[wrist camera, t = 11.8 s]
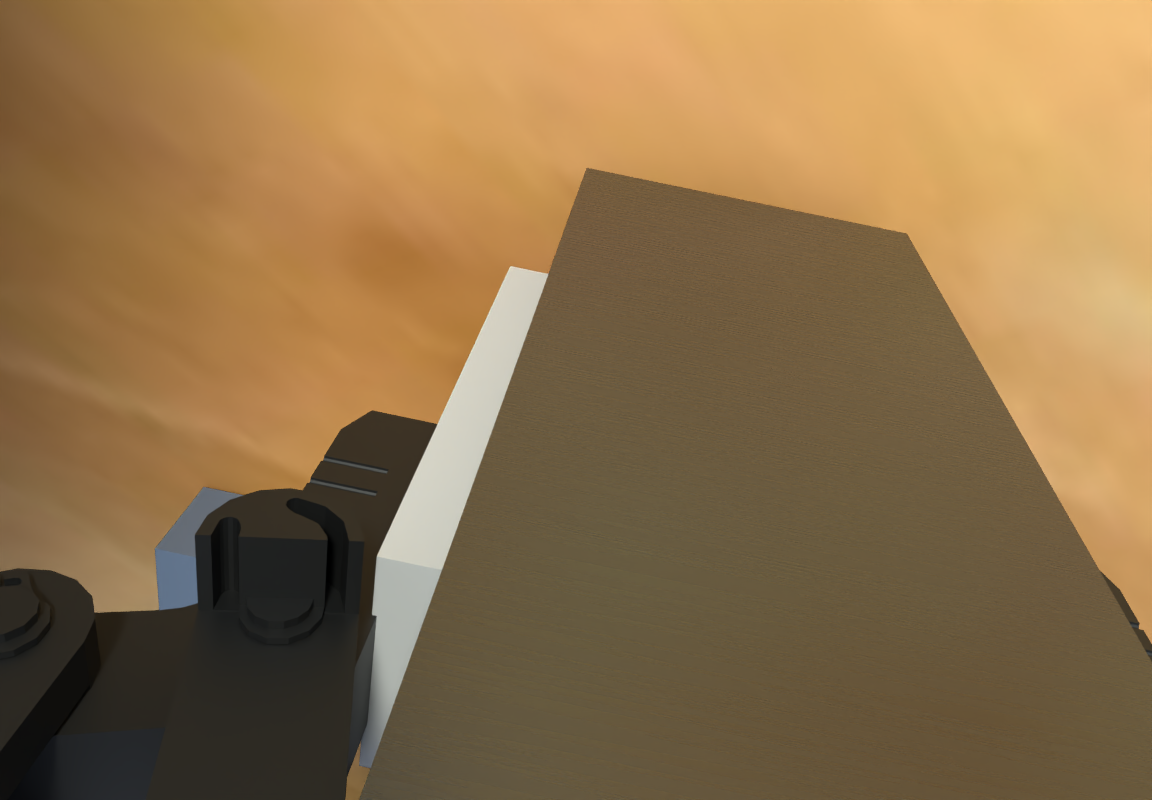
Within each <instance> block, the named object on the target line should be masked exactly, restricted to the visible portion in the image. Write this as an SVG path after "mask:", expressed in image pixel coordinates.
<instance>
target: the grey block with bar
mask: <svg viewBox="0 0 1152 800" xmlns="http://www.w3.org/2000/svg"><path fill="white" fill-rule="evenodd" d="M359 800H1152V661H1151V660H1150V658H1149V656H1148V654H1147V653H1146V651H1145V649H1144V648H1143V646H1142V644H1141V642H1140V641H1139V639H1138V637H1137V635H1136V634H1135V632H1134V630H1133V628H1132V627H1131V625H1130V623H1129V621H1128V620H1127V618H1126V616H1125V614H1124V613H1123V611H1122V609H1121V607H1120V606H1119V604H1118V602H1117V600H1116V599H1115V597H1114V595H1113V593H1112V592H1111V590H1110V588H1109V586H1108V585H1107V583H1106V581H1105V579H1104V578H1103V576H1102V574H1101V572H1100V571H1099V569H1098V567H1097V565H1096V564H1095V562H1094V560H1093V558H1092V557H1091V555H1090V553H1089V551H1088V550H1087V548H1086V546H1085V544H1084V543H1083V541H1082V539H1081V537H1080V536H1079V534H1078V532H1077V530H1076V529H1075V527H1074V525H1073V523H1072V522H1071V520H1070V518H1069V516H1068V515H1067V513H1066V511H1065V509H1064V508H1063V506H1062V504H1061V502H1060V501H1059V499H1058V497H1057V495H1056V494H1055V492H1054V490H1053V488H1052V487H1051V485H1050V483H1049V481H1048V480H1047V478H1046V476H1045V474H1044V473H1043V471H1042V469H1041V467H1040V466H1039V464H1038V462H1037V460H1036V459H1035V457H1034V455H1033V453H1032V452H1031V450H1030V448H1029V446H1028V445H1027V443H1026V441H1025V439H1024V438H1023V436H1022V434H1021V432H1020V431H1019V429H1018V427H1017V425H1016V424H1015V422H1014V420H1013V419H1012V417H1011V415H1010V413H1009V412H1008V410H1007V408H1006V406H1005V405H1004V403H1003V401H1002V399H1001V398H1000V396H999V394H998V392H997V391H996V389H995V387H994V385H993V384H992V382H991V380H990V378H989V377H988V375H987V373H986V371H985V370H984V368H983V366H982V364H981V363H980V361H979V359H978V357H977V356H976V354H975V352H974V350H973V349H972V347H971V345H970V343H969V342H968V340H967V338H966V336H965V335H964V333H963V331H962V329H961V328H960V326H959V324H958V322H957V321H956V319H955V317H954V315H953V314H952V312H951V310H950V308H949V307H948V305H947V303H946V301H945V300H944V298H943V296H942V294H941V293H940V291H939V289H938V287H937V286H936V284H935V282H934V280H933V279H932V277H931V275H930V273H929V272H928V270H927V268H926V266H925V265H924V263H923V261H922V259H921V258H920V256H919V254H918V252H917V251H916V249H915V247H914V245H913V244H912V242H911V240H910V238H909V237H908V235H907V234H906V233H901V232H896V231H891V230H886V229H881V228H877V227H872V226H867V225H862V224H857V223H852V222H847V221H842V220H838V219H833V218H828V217H823V216H818V215H813V214H808V213H804V212H799V211H794V210H789V209H784V208H779V207H774V206H770V205H765V204H760V203H755V202H750V201H745V200H740V199H735V198H731V197H726V196H721V195H716V194H711V193H706V192H701V191H697V190H692V189H687V188H682V187H677V186H672V185H667V184H662V183H658V182H653V181H648V180H643V179H638V178H633V177H628V176H624V175H619V174H614V173H609V172H604V171H599V170H594V169H589V168H587V169H586V171H585V174H584V177H583V180H582V182H581V185H580V188H579V191H578V194H577V196H576V199H575V202H574V205H573V207H572V210H571V213H570V216H569V219H568V221H567V224H566V227H565V230H564V232H563V235H562V238H561V241H560V244H559V246H558V249H557V252H556V255H555V257H554V260H553V263H552V266H551V269H550V271H549V274H548V277H547V280H546V282H545V285H544V288H543V291H542V293H541V296H540V299H539V302H538V305H537V307H536V310H535V313H534V316H533V318H532V321H531V324H530V327H529V330H528V332H527V335H526V338H525V341H524V343H523V346H522V349H521V352H520V355H519V357H518V360H517V363H516V366H515V368H514V371H513V374H512V377H511V380H510V382H509V385H508V388H507V391H506V393H505V396H504V399H503V402H502V405H501V407H500V410H499V413H498V416H497V418H496V421H495V424H494V427H493V430H492V432H491V435H490V438H489V441H488V443H487V446H486V449H485V452H484V455H483V457H482V460H481V463H480V466H479V468H478V471H477V474H476V477H475V480H474V482H473V485H472V488H471V491H470V493H469V496H468V499H467V502H466V505H465V507H464V510H463V513H462V516H461V518H460V521H459V524H458V527H457V530H456V532H455V535H454V538H453V541H452V543H451V546H450V549H449V552H448V555H447V557H446V560H445V563H444V566H443V568H442V571H441V574H440V577H439V579H438V582H437V585H436V588H435V591H434V593H433V596H432V599H431V602H430V604H429V607H428V610H427V613H426V616H425V618H424V621H423V624H422V627H421V629H420V632H419V635H418V638H417V641H416V643H415V646H414V649H413V652H412V654H411V657H410V660H409V663H408V666H407V668H406V671H405V674H404V677H403V679H402V682H401V685H400V688H399V691H398V693H397V696H396V699H395V702H394V704H393V707H392V710H391V713H390V716H389V718H388V721H387V724H386V727H385V729H384V732H383V735H382V738H381V741H380V743H379V746H378V749H377V752H376V754H375V757H374V760H373V763H372V766H371V768H370V771H369V774H368V777H367V779H366V782H365V785H364V788H363V791H362V793H361V796H360V799H359Z"/></svg>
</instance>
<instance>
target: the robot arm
mask: <svg viewBox="0 0 1152 800" xmlns="http://www.w3.org/2000/svg"><path fill="white" fill-rule="evenodd" d="M547 277H548V274H546V273H541V272H536V271H532V270H527V269H522V268H517V267H512V266H510V268H509V270H508V272H507V275H506V277H505V279H504V281H503V283H502V285H501V288H500V290H499V292H498V294H497V296H496V298H495V301H494V303H493V305H492V307H491V309H490V311H489V314H488V316H487V318H486V320H485V322H484V325H483V327H482V329H481V331H480V333H479V335H478V338H477V340H476V342H475V344H474V346H473V348H472V351H471V353H470V355H469V357H468V359H467V361H466V364H465V366H464V368H463V370H462V372H461V374H460V377H459V379H458V381H457V383H456V385H455V388H454V390H453V392H452V394H451V396H450V398H449V401H448V403H447V405H446V407H445V409H444V411H443V414H442V416H441V418H440V420H439V422H438V424H434V423H430V422H425V421H420V420H415V419H410V418H406V417H401V416H396V415H391V414H387V413H382V412H377V411H370V412H369V413H367V414H365V415H364V416H362V417H360V418H359V419H357V420H356V421H354V422H352V423H351V424H349V425H347V426H346V427H344V428H343V429H341V430H340V432H339V433H338V435H337V437H336V438H335V440H334V441H333V443H332V445H331V446H330V448H329V449H328V451H327V452H326V454H325V456H324V460H323V461H321V462H320V464H319V465H318V467H317V468H316V470H315V472H314V473H313V475H312V476H311V480H310V483H307V484H306V486H305V488H304V489H303V491H302V490H297V489H291V488H290V489H275V490H259V491H256V492H253V493H250V494H246V495H243V496H240V497H237V498H234V499H230V500H229V501H227V502H226V503H224V504H223V505H221V506H220V507H218V508H217V509H215V510H214V511H212V512H211V513H209V514H208V515H207V516H206V518H205V519H204V521H203V522H202V524H201V526H200V527H199V529H198V530H197V532H196V533H195V554H196V575H197V597H198V603H196V604H193V605H189V606H186V607H182V608H173V609H165V610H156V611H130V612H105V613H94V606H93V599H92V596H91V595H90V594H89V593H88V592H87V591H86V590H85V589H84V587H83V586H82V585H81V584H80V583H79V582H78V581H77V580H75V579H72V578H69V577H67V576H64V575H61V574H59V573H56V572H53V571H51V570H34V569H13V570H7V571H1V572H0V800H345V797H346V783H347V776H348V773H349V770H350V768H351V765H352V762H353V760H354V757H355V755H356V752H357V749H358V747H359V744H360V741H361V751H360V763H359V766H363V767H368V768H371V766H372V763H373V760H374V757H375V754H376V752H377V749H378V746H379V743H380V741H381V738H382V735H383V732H384V729H385V727H386V724H387V721H388V718H389V716H390V713H391V710H392V707H393V704H394V702H395V699H396V696H397V693H398V691H399V688H400V685H401V682H402V679H403V677H404V674H405V671H406V668H407V666H408V663H409V660H410V657H411V654H412V652H413V649H414V646H415V643H416V641H417V638H418V635H419V632H420V629H421V627H422V624H423V621H424V618H425V616H426V613H427V610H428V607H429V604H430V602H431V599H432V596H433V593H434V591H435V588H436V585H437V582H438V579H439V577H440V574H441V571H442V568H443V566H444V563H445V560H446V557H447V555H448V552H449V549H450V546H451V543H452V541H453V538H454V535H455V532H456V530H457V527H458V524H459V521H460V518H461V516H462V513H463V510H464V507H465V505H466V502H467V499H468V496H469V493H470V491H471V488H472V485H473V482H474V480H475V477H476V474H477V471H478V468H479V466H480V463H481V460H482V457H483V455H484V452H485V449H486V446H487V443H488V441H489V438H490V435H491V432H492V430H493V427H494V424H495V421H496V418H497V416H498V413H499V410H500V407H501V405H502V402H503V399H504V396H505V393H506V391H507V388H508V385H509V382H510V380H511V377H512V374H513V371H514V368H515V366H516V363H517V360H518V357H519V355H520V352H521V349H522V346H523V343H524V341H525V338H526V335H527V332H528V330H529V327H530V324H531V321H532V318H533V316H534V313H535V310H536V307H537V305H538V302H539V299H540V296H541V293H542V291H543V288H544V285H545V282H546V280H547ZM1099 571H1100V570H1099ZM1100 572H1101V571H1100ZM1101 574H1102V576H1103V578H1104V579H1105V581H1106V583H1107V585H1108V586H1109V588H1110V590H1111V592H1112V593H1113V595H1114V597H1115V599H1116V600H1117V602H1118V604H1119V606H1120V607H1121V609H1122V611H1123V613H1124V614H1125V616H1126V618H1127V620H1128V621H1129V623H1130V625H1131V627H1132V628H1133V630H1134V632H1135V634H1136V635H1137V637H1138V639H1139V641H1140V642H1141V644H1142V646H1143V648H1144V649H1145V651H1146V653H1147V654H1148V656H1149V658H1150V660H1151V661H1152V644H1151V642H1150V641H1149V639H1148V637H1147V635H1146V634H1145V632H1144V630H1140V629H1139V624H1140V623H1139V622H1138V620H1137V618H1136V617H1135V615H1134V613H1133V612H1132V610H1131V608H1130V606H1129V605H1128V603H1127V601H1126V600H1125V598H1124V596H1123V594H1122V593H1121V591H1120V589H1118V588H1117V587H1116V586H1115V585H1114V584H1113V583H1112V582H1111V581H1110V580H1109V579H1108V578H1107V577H1106V576H1105V575H1104V574H1103V573H1102V572H1101Z"/></svg>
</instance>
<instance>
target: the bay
mask: <svg viewBox="0 0 1152 800" xmlns="http://www.w3.org/2000/svg"><path fill="white" fill-rule="evenodd" d="M240 496H243V495H240V494H235V493H230V492H226V491H221V490H216V489H211V488H207V487H203V489H202V490H201V491H200V492H199V494H198V495H197V496H196V497H195V499H194V500H193V501H192V503H191V504H190V505H189V506H188V508H187V509H186V510H185V511H184V513H183V514H182V515H181V516H180V518H179V519H178V520H177V521H176V523H175V524H174V525H173V527H172V528H171V529H170V530H169V532H168V533H167V534H166V535H165V537H164V538H163V539H162V540H161V542H160V543H159V544H158V545H157V547H156V548H155V556H156V570H157V584H158V598H159V610H165V609H173V608H182V607H186V606H189V605H193V604H196V603H198V597H197V575H196V554H195V533H196V532H197V530H198V529H199V527H200V526H201V524H202V522H203V521H204V519H205V518H206V516H207V515H208V514H209V513H211V512H212V511H214V510H215V509H217V508H218V507H220V506H221V505H223V504H224V503H226V502H227V501H229V500H230V499H234V498H237V497H240Z"/></svg>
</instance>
